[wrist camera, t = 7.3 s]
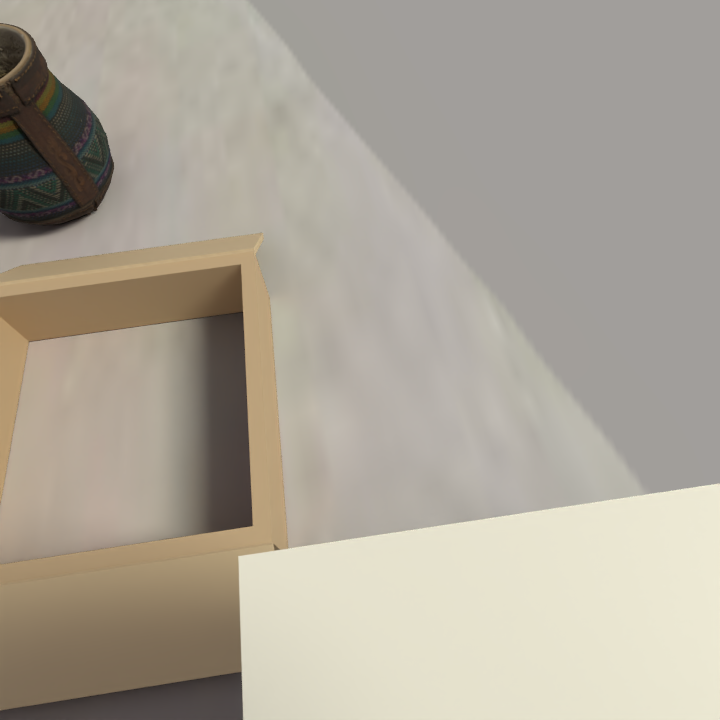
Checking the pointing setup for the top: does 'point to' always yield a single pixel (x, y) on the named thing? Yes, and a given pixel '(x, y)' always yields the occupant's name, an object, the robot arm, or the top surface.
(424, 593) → the box
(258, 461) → the tan rectangular open frame
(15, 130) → the mate gourd
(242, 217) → the top surface
